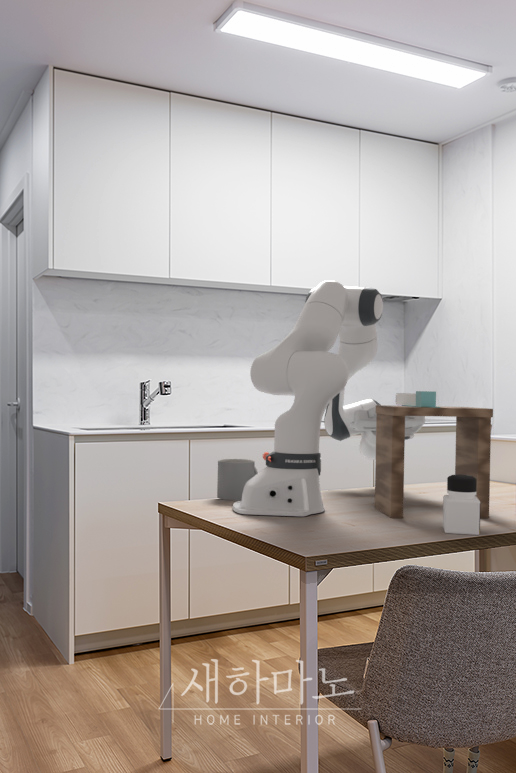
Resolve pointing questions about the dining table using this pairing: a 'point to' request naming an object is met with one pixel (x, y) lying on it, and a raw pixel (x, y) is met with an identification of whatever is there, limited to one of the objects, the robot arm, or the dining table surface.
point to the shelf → (468, 459)
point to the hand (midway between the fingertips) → (395, 406)
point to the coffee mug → (234, 477)
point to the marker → (417, 399)
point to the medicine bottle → (461, 506)
